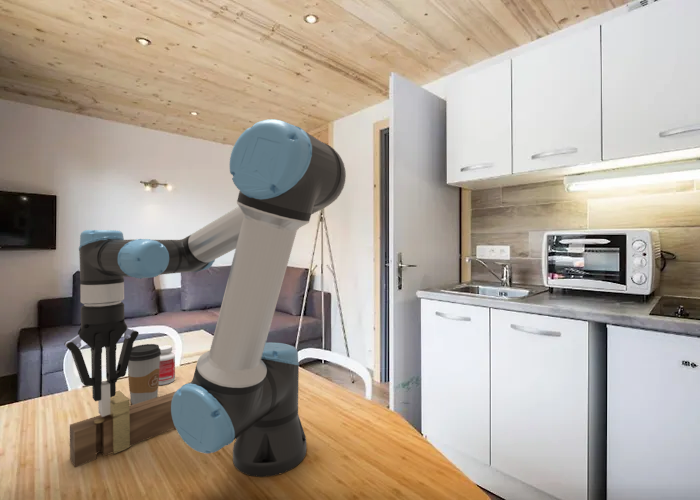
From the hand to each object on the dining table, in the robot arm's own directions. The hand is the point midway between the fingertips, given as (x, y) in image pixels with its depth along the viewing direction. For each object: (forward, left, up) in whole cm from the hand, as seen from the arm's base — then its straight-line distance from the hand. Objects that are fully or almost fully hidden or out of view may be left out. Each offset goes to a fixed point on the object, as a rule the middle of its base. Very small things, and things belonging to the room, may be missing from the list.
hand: (104, 413), depth 73 cm
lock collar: (0, -2, -8) cm, 8 cm away
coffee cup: (+19, -14, -8) cm, 25 cm away
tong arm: (-1, -7, -8) cm, 11 cm away
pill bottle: (+29, -23, -8) cm, 38 cm away
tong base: (0, -5, -8) cm, 10 cm away
